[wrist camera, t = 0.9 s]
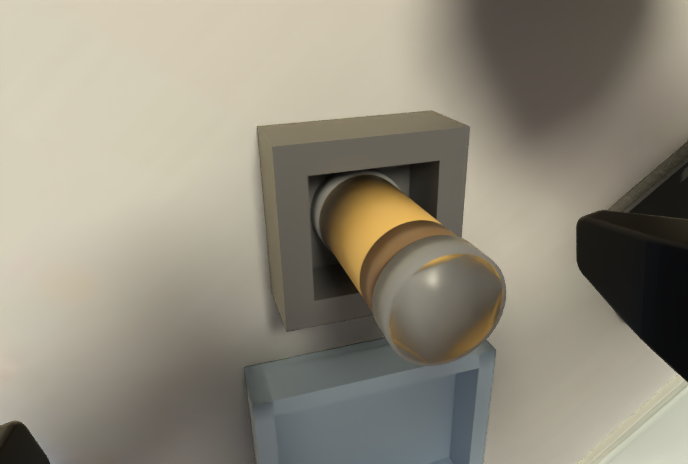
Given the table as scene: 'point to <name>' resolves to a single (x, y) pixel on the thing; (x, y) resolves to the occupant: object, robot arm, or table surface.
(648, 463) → the hard drive
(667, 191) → the phone
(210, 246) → the table surface
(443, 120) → the holder
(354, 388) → the tray
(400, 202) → the fuse
